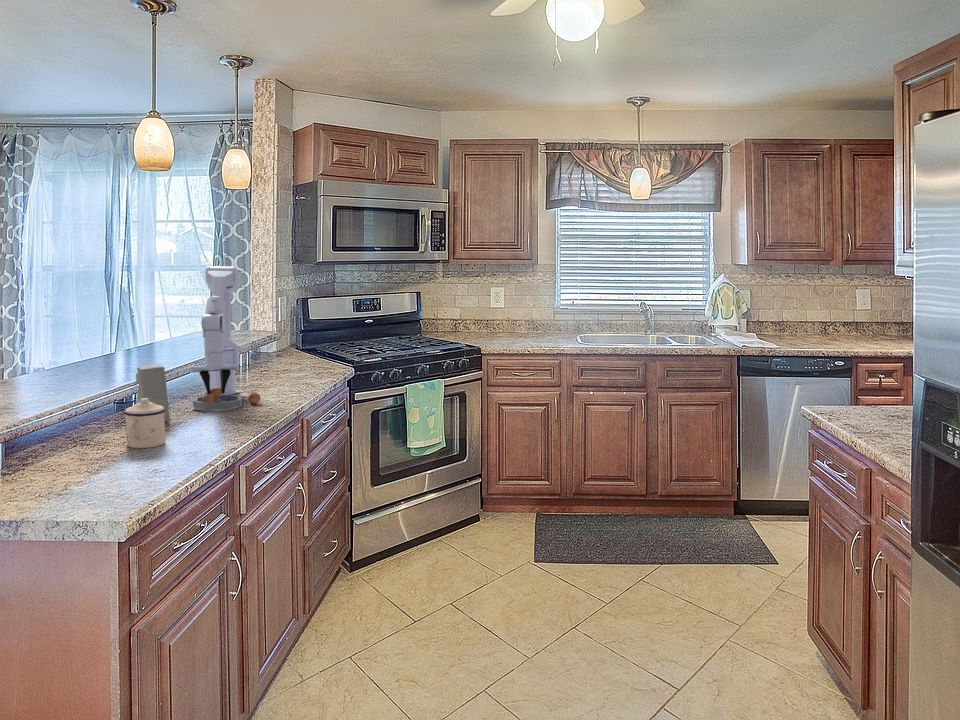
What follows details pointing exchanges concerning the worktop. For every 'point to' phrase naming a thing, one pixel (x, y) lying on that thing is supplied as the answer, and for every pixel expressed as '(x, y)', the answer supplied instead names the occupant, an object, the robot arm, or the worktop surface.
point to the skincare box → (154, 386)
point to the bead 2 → (254, 398)
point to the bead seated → (208, 398)
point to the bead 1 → (216, 392)
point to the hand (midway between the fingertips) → (215, 393)
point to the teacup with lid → (145, 425)
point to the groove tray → (218, 403)
